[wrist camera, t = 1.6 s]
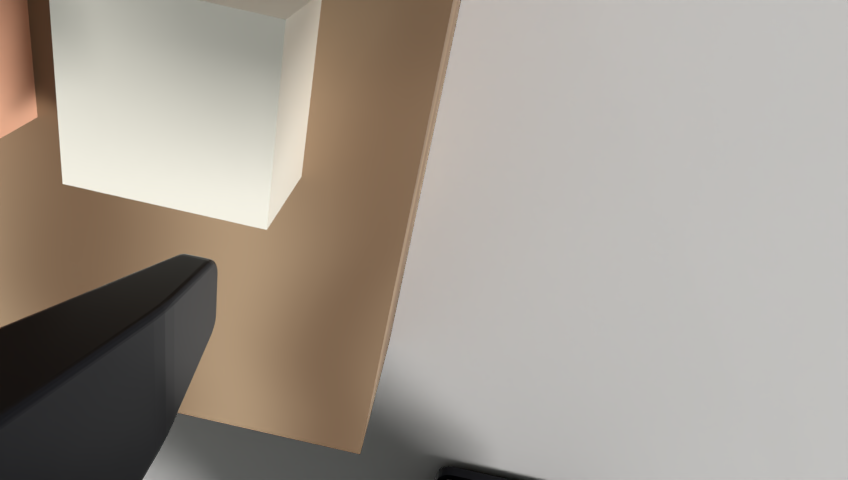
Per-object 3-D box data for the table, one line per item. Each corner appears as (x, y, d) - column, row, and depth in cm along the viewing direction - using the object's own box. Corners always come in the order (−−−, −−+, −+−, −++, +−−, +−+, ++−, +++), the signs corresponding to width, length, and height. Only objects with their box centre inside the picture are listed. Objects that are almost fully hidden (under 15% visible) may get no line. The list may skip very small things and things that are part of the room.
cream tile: (322, -9, 14) (286, 19, 12) (301, 176, 16) (267, 230, 14) (121, -54, 14) (47, -34, 12) (125, 136, 16) (63, 183, 14)
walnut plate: (553, -440, 14) (568, -565, 10) (388, 344, 24) (359, 454, 20) (-183, -601, 14) (-491, -796, 10) (-43, 246, 24) (-167, 334, 20)
